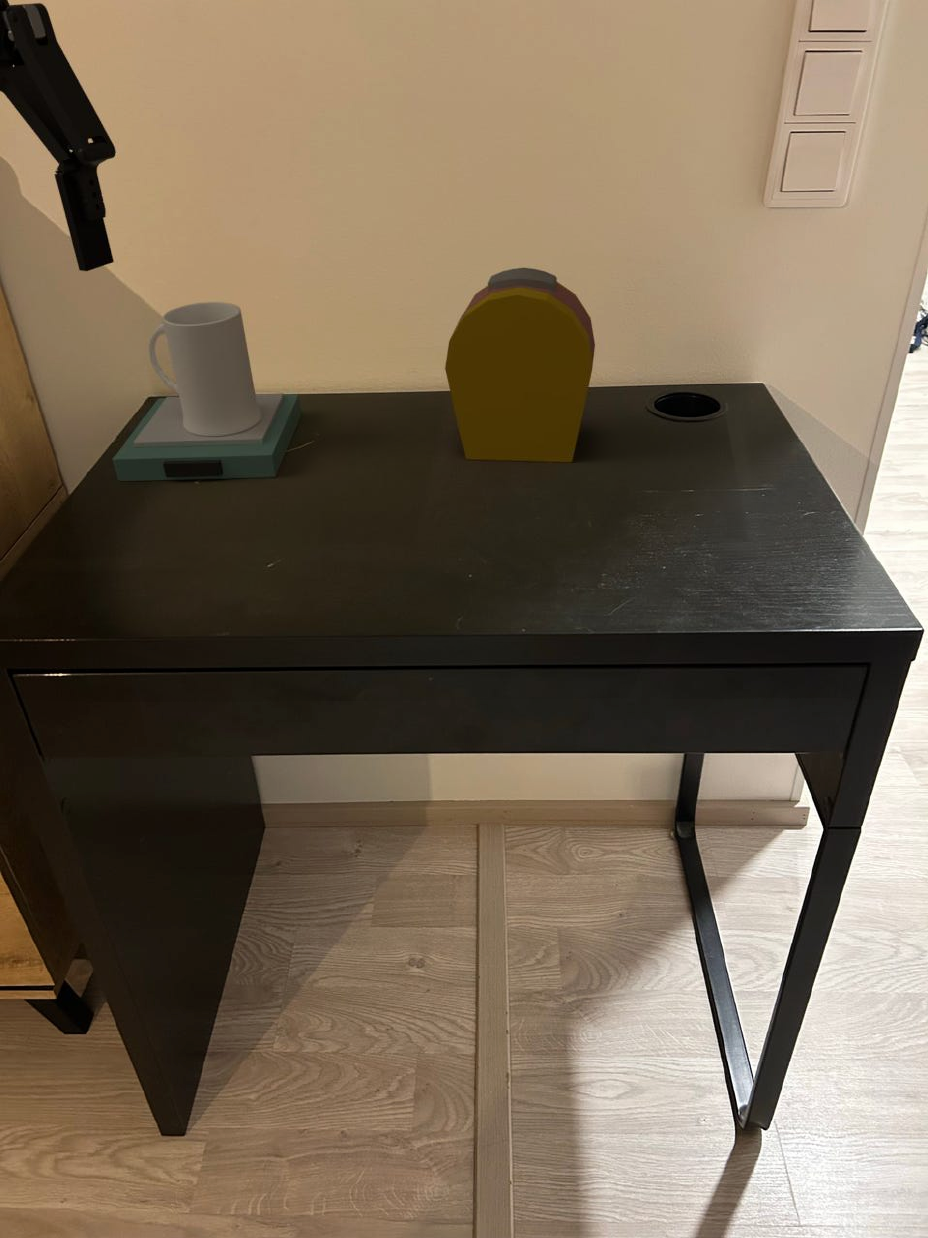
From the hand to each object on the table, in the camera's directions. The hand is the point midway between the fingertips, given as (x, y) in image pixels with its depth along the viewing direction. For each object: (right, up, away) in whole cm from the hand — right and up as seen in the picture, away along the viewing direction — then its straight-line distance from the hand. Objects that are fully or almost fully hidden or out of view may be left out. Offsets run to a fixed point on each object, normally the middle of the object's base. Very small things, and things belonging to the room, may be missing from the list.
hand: (33, 258), depth 74 cm
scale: (+5, -8, +35) cm, 36 cm away
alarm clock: (+40, -9, +32) cm, 52 cm away
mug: (+5, -6, +33) cm, 34 cm away
